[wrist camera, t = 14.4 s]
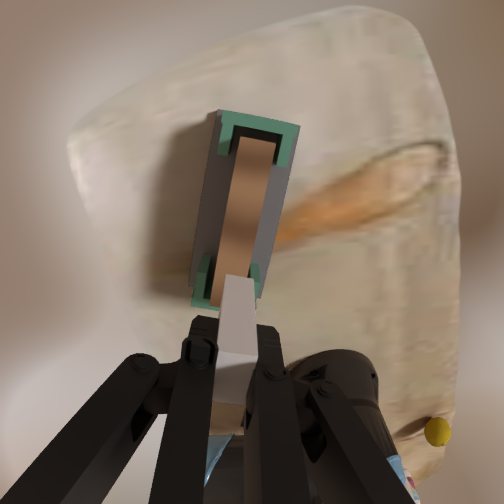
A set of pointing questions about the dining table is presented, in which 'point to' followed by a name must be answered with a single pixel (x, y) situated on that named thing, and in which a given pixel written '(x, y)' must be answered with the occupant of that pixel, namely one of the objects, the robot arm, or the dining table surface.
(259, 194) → the slat
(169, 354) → the dining table surface
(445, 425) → the lemon
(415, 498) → the milk bottle
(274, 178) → the cradle
